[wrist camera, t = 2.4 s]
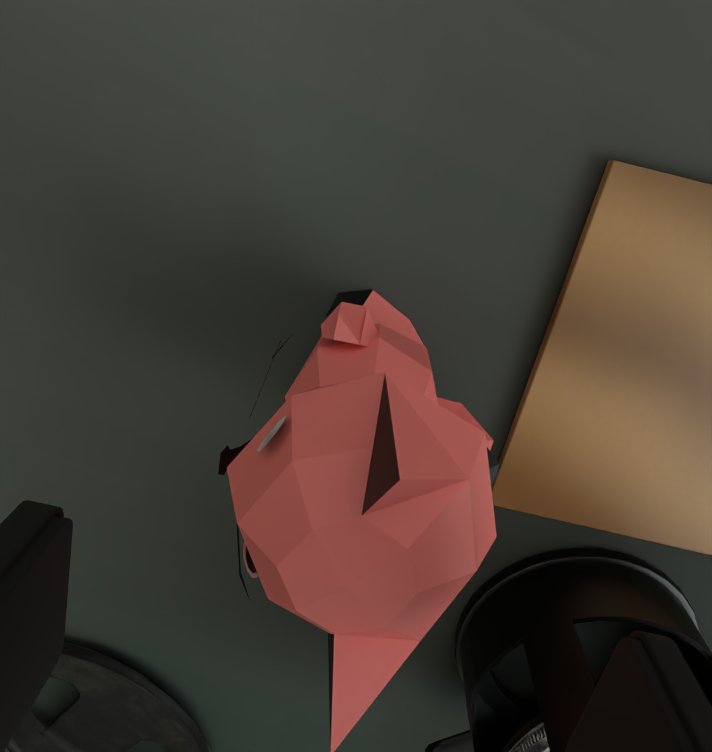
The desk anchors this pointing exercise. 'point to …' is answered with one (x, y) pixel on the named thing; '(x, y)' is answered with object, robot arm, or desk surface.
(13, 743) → the holder
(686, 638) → the french press
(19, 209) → the desk surface
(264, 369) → the desk surface
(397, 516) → the cat figurine
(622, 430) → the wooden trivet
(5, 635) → the robot arm
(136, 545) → the desk surface
